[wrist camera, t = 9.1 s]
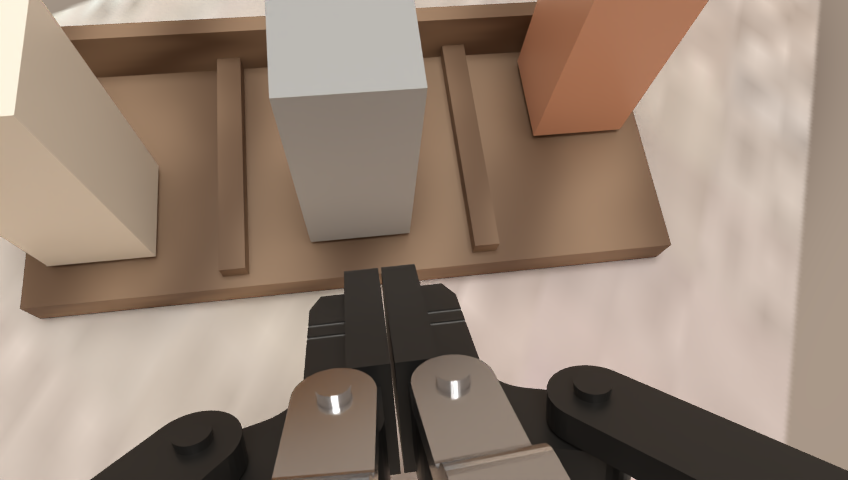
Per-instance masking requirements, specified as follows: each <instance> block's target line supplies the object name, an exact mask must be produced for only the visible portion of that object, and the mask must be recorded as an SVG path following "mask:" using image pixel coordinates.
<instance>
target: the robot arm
mask: <svg viewBox="0 0 848 480" xmlns="http://www.w3.org/2000/svg"><path fill="white" fill-rule="evenodd" d="M381 277H382V287H383V298H384V309H385V318H384V310H383V302H382V295H381V287H380V280H379V272H378V268H371V269H362V270H352V271H344V294H342V295H333V296H324V297H320V299H319V300H318V301H317V302H316V303H315V305H314V306H313V307H312V308H311V310H310V312H309V324H308V326H309V328H308V335H307V339H308V340H307V347H306V358H305V370H304V380H303V381H302V382H300V383H299V384H298V385H297V386H296V387H295V389H294V390H293V392H292V394H291V397H290V402H289V406H288V409H286V410H285V411H283V412H282V413H280V414H279V415H277V416H275V417H273V418H271V419H268V420H266V421H263V422H260V423H258V424H255V425H252V426H249V427H246V428H243V429H242V427H241V424H240V422H239V420H238V419H237V418H235V417H234V416H233V415H231V414H229V413H226V412H222V411H201V412H195V413H192V414H188V415H185V416H183V417H180V418H178V419H176V420H174V421H172V422H170V423H168V424H167V425H165V426H164V427H162V428H161V429H160V430H158V431H157V432H155V433H154V434H153V435H151V436H150V437H149V438H147V439H146V440H144V441H143V442H142V443H140V444H139V445H138V446H136V447H135V448H133V449H132V450H131V451H129V452H128V453H126V454H125V455H124V456H122V457H121V458H120V459H118V460H117V461H115V462H114V463H113V464H111V465H110V466H109V467H107V468H106V469H104V470H103V471H102V472H100V473H99V474H98V475H96V476H95V477H93V478H92V479H91V480H390V475H395V474H401V471H400V460H399V449H398V438H397V427H396V417H395V406H394V396H395V404H396V412H397V419H398V427H399V434H400V442H401V450H402V457H403V465H404V473H408V472H415V471H417V476H418V480H631V477H633V478H635V479H636V480H848V471H847V470H844V469H842V468H840V467H837V466H835V465H833V464H830V463H828V462H825V461H823V460H821V459H819V458H816V457H814V456H811V455H809V454H807V453H805V452H802V451H800V450H798V449H795V448H793V447H790V446H788V445H786V444H784V443H781V442H779V441H777V440H774V439H772V438H769V437H767V436H765V435H762V434H760V433H758V432H755V431H753V430H751V429H748V428H746V427H744V426H741V425H739V424H737V423H734V422H732V421H730V420H727V419H725V418H723V417H720V416H718V415H716V414H713V413H711V412H709V411H706V410H704V409H702V408H699V407H697V406H695V405H692V404H690V403H688V402H685V401H683V400H681V399H678V398H676V397H674V396H671V395H669V394H667V393H664V392H662V391H659V390H657V389H655V388H652V387H650V386H648V385H645V384H643V383H641V382H638V381H636V380H634V379H631V378H629V377H627V376H624V375H622V374H620V373H617V372H615V371H612V370H610V369H607V368H603V367H598V366H588V365H582V366H573V367H569V368H565V369H563V370H560V371H559V372H557V373H556V374H554V375H553V376H552V377H551V378H550V380H549V382H548V385H547V390H542V389H532V388H523V387H516V386H512V385H509V384H506V383H503V382H501V381H499V380H498V379H497V377H496V375H495V374H494V372H493V370H492V369H491V367H489V366H488V365H487V364H486V363H485V362H483V361H481V360H479V357H478V354H477V352H476V349H475V346H474V343H473V341H472V338H471V335H470V332H469V330H468V327H467V324H466V322H465V319H464V316H463V313H462V311H461V308H460V305H459V302H458V299H457V297H456V294H455V293H453V292H452V291H451V290H449V289H448V288H447V287H445V286H444V285H443V284H433V285H424V286H420V282H419V279H418V275H417V271H416V267H415V264H408V265H399V266H389V267H381ZM385 320H386V325H385ZM386 330H387V333H386ZM392 381H393V384H392ZM393 389H394V395H393Z"/></svg>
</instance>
